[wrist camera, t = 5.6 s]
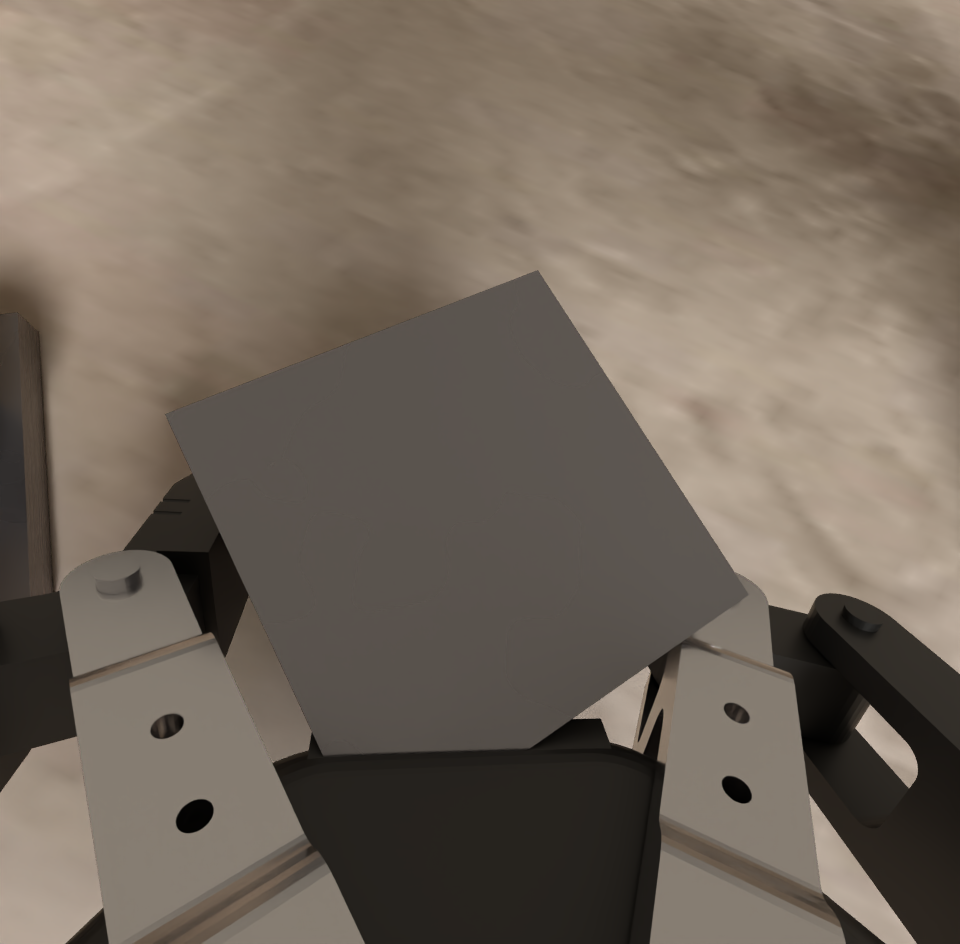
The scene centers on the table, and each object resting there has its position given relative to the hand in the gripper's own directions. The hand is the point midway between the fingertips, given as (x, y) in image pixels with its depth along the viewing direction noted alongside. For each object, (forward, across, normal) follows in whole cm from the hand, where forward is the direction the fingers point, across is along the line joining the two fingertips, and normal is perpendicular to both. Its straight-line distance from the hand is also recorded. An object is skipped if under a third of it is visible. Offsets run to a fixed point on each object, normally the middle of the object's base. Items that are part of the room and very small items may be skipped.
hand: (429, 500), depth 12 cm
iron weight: (+2, 0, +4) cm, 5 cm away
